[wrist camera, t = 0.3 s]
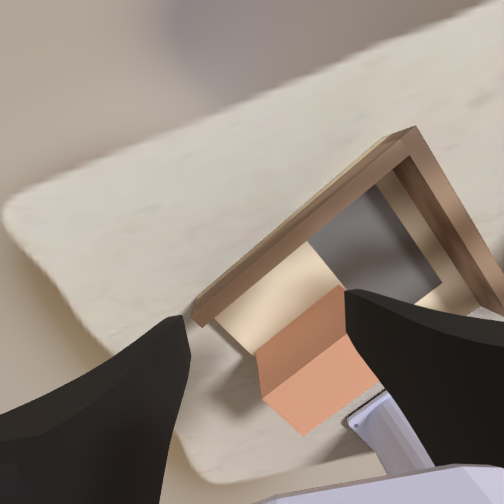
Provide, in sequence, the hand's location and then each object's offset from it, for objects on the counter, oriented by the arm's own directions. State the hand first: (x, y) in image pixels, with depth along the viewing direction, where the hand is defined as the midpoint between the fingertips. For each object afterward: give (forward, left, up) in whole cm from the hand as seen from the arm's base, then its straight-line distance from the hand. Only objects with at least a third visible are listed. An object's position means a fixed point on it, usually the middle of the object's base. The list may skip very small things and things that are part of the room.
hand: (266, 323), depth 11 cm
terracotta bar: (-8, 0, -9) cm, 12 cm away
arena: (-8, -4, -10) cm, 13 cm away
